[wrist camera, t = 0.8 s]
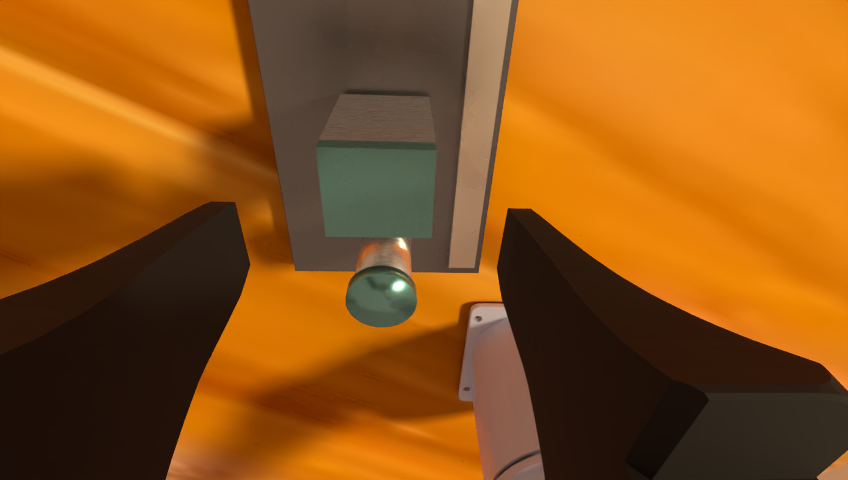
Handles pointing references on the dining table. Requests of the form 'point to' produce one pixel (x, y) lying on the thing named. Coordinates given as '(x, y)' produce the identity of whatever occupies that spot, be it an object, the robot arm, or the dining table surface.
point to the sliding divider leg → (378, 167)
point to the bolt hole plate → (396, 76)
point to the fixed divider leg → (382, 282)
